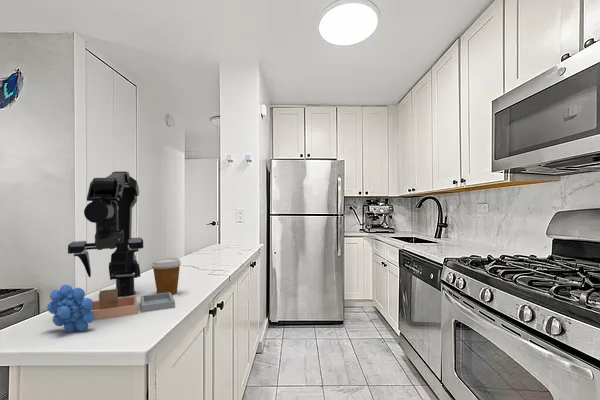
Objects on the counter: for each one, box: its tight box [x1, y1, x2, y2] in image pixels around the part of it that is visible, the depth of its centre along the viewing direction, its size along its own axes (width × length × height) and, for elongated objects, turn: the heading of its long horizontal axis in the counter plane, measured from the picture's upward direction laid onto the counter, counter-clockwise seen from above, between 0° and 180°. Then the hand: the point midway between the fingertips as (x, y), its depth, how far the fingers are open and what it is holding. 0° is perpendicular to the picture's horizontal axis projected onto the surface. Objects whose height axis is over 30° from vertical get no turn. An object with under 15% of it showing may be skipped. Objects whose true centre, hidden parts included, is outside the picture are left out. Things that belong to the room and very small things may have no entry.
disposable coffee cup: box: [151, 257, 182, 296], centre depth 122 cm, size 10×10×12 cm
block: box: [98, 288, 119, 310], centre depth 102 cm, size 4×4×6 cm
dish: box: [90, 295, 138, 321], centre depth 102 cm, size 12×15×3 cm
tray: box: [140, 292, 176, 313], centre depth 108 cm, size 12×9×2 cm
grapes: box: [46, 284, 95, 333], centre depth 86 cm, size 12×7×12 cm, turn 88°
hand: (108, 275), depth 102 cm, fingers open, 9 cm apart
